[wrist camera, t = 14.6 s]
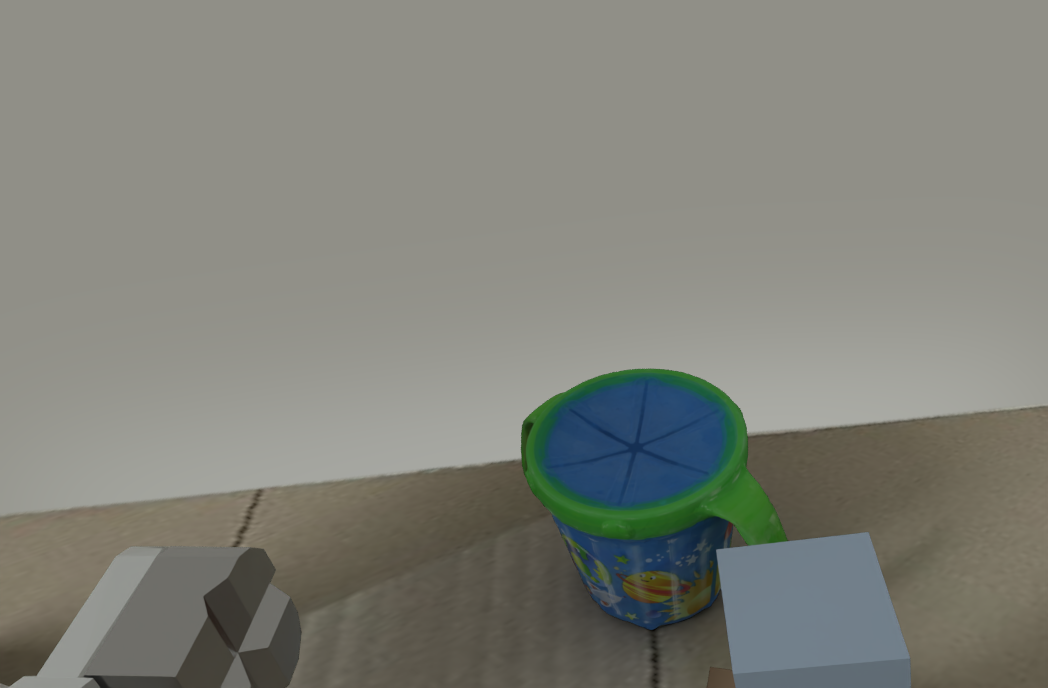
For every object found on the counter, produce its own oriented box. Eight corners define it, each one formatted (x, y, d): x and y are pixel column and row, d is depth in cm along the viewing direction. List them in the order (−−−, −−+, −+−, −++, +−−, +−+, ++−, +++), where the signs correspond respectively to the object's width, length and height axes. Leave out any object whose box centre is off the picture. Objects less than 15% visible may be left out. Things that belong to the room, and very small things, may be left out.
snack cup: (843, 594, 46) (843, 444, 40) (700, 735, 42) (677, 588, 36) (625, 459, 57) (601, 326, 51) (494, 559, 53) (451, 425, 47)
